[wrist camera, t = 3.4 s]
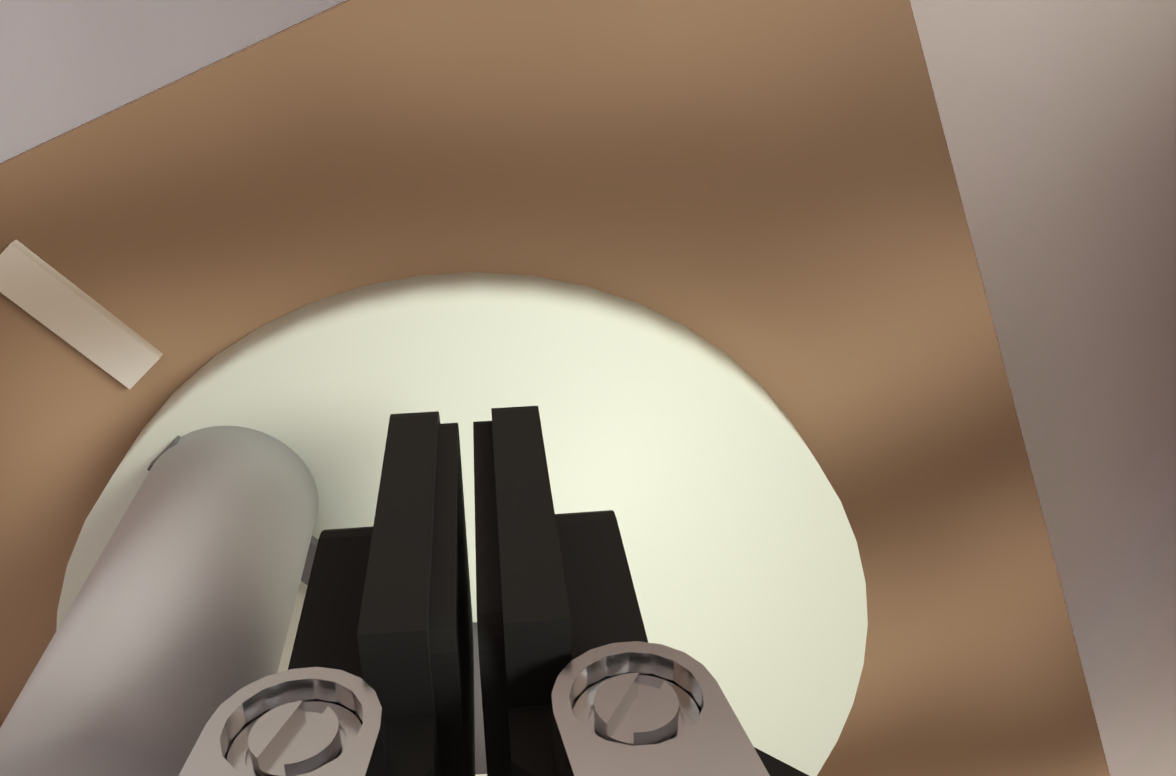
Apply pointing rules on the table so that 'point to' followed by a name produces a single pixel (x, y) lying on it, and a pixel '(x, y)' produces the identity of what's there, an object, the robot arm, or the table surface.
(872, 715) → the dial base
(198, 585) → the dial
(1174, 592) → the table surface
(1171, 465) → the table surface
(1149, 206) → the table surface
